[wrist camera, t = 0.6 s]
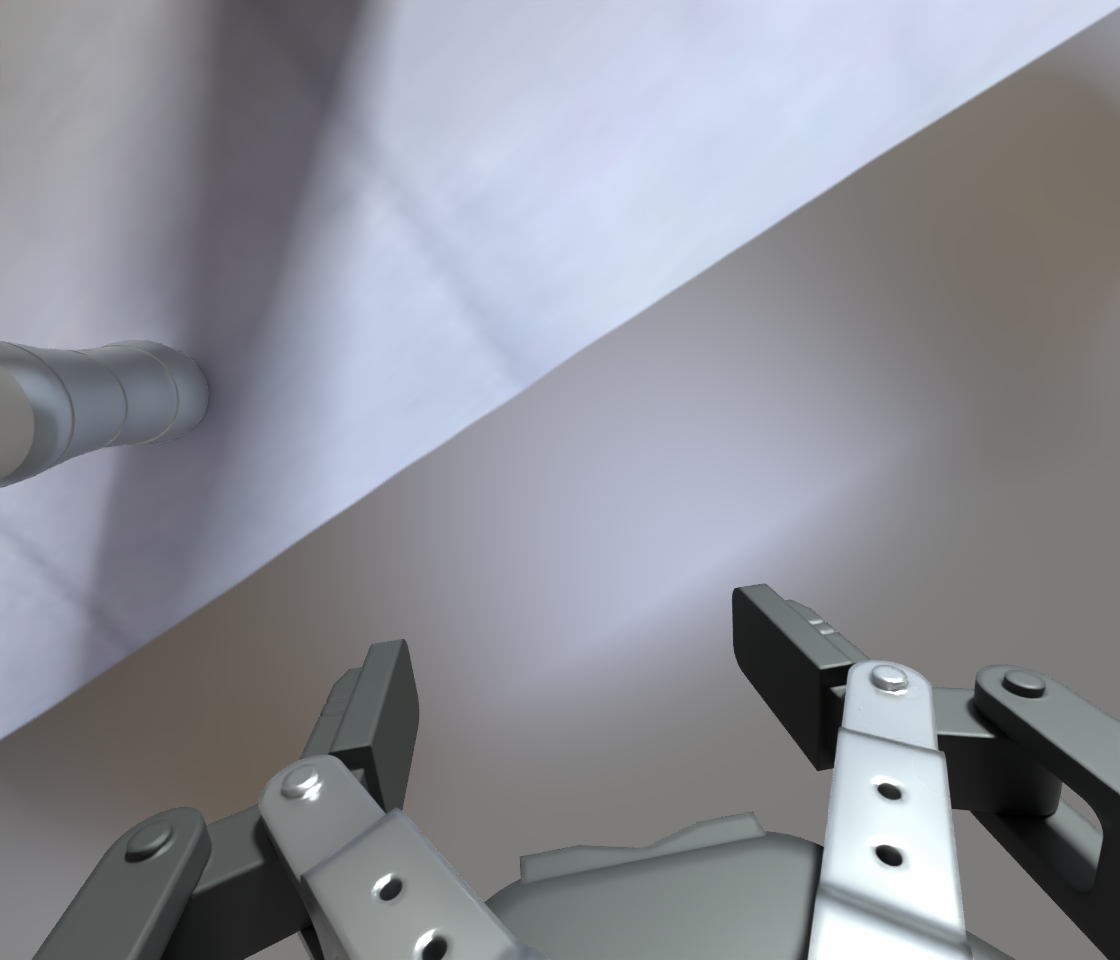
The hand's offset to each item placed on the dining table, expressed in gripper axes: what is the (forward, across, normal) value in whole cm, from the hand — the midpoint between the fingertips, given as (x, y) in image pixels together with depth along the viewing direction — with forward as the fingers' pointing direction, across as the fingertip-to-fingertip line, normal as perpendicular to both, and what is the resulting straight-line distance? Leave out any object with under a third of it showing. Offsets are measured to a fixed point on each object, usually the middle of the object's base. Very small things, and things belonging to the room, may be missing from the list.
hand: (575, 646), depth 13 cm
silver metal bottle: (+29, +23, -6) cm, 37 cm away
